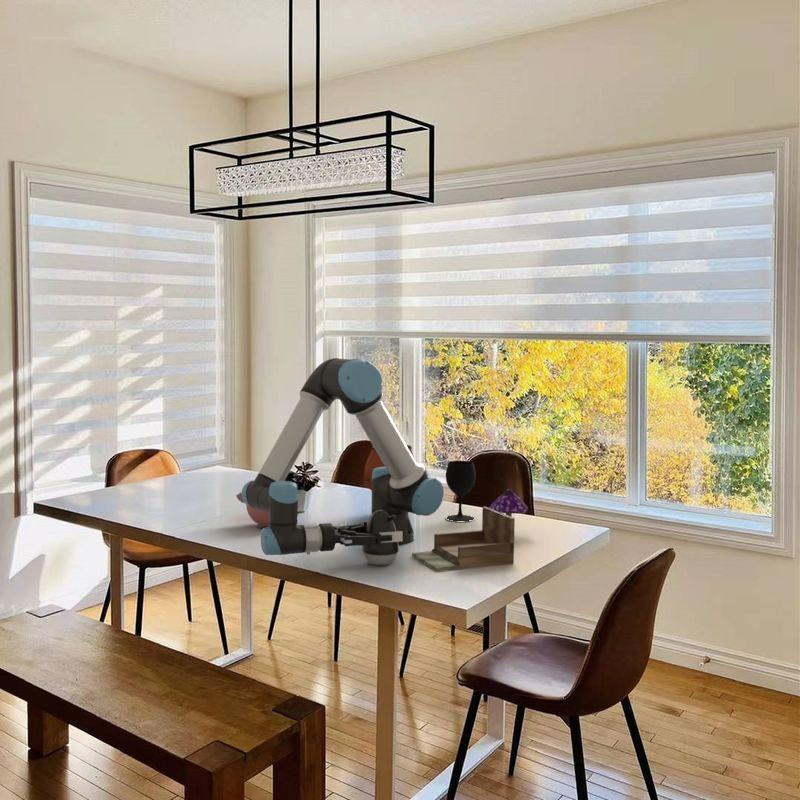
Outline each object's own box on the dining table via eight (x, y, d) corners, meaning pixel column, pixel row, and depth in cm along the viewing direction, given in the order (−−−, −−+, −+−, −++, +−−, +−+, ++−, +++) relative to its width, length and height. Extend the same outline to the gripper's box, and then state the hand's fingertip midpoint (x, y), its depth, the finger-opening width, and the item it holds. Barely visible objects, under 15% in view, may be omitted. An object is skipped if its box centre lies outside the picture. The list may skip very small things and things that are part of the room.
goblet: (422, 511, 309) (423, 443, 307) (410, 523, 290) (411, 450, 288) (371, 508, 313) (372, 441, 311) (357, 519, 295) (357, 448, 293)
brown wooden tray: (412, 556, 247) (412, 512, 246) (485, 549, 256) (486, 506, 255) (436, 571, 231) (437, 524, 230) (513, 563, 240) (514, 518, 239)
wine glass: (465, 523, 291) (466, 465, 289) (439, 519, 296) (440, 463, 295) (480, 518, 299) (481, 462, 298) (454, 514, 305) (455, 459, 303)
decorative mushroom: (529, 532, 279) (530, 487, 278) (525, 541, 267) (526, 494, 266) (492, 529, 282) (493, 485, 281) (485, 538, 270) (486, 491, 269)
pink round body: (249, 518, 294) (249, 474, 293) (301, 523, 287) (301, 478, 286) (225, 527, 280) (225, 481, 278) (279, 533, 273) (279, 486, 272)
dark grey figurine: (381, 570, 231) (382, 515, 230) (354, 563, 238) (355, 509, 237) (406, 563, 238) (407, 510, 237) (380, 556, 246) (380, 504, 244)
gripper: (308, 541, 242) (382, 536, 250) (329, 561, 221) (409, 554, 229) (308, 515, 242) (383, 511, 249) (329, 533, 221) (410, 527, 229)
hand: (395, 532), depth 239 cm, fingers closed on dark grey figurine, 9 cm apart
